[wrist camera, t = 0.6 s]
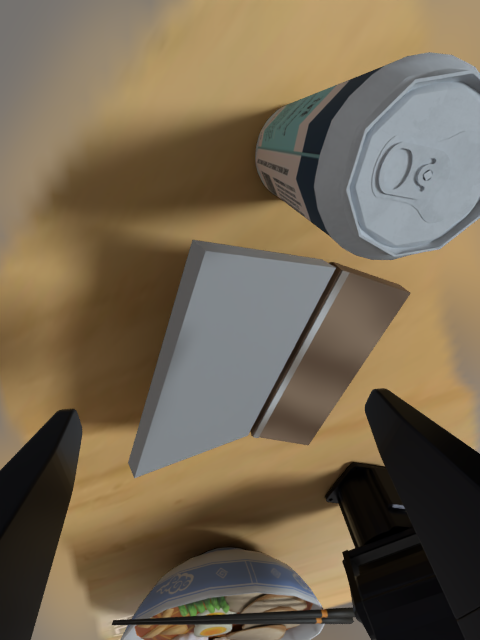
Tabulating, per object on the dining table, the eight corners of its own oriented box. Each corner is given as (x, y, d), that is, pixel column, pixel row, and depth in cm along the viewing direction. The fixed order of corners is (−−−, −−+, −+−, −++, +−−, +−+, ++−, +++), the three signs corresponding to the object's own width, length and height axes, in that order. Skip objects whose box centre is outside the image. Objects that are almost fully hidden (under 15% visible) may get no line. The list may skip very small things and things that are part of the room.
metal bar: (304, 432, 30) (308, 446, 28) (249, 423, 28) (251, 437, 27) (399, 284, 23) (411, 293, 21) (333, 262, 21) (341, 270, 20)
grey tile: (240, 424, 28) (247, 435, 27) (128, 462, 21) (134, 477, 20) (322, 259, 21) (336, 267, 20) (192, 239, 14) (205, 250, 13)
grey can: (322, 204, 19) (464, 282, 9) (246, 192, 18) (304, 260, 8) (348, 112, 17) (581, 71, 7) (263, 93, 16) (375, 10, 6)
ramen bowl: (115, 600, 43) (98, 689, 36) (134, 506, 33) (115, 606, 26) (282, 597, 49) (296, 674, 42) (344, 516, 38) (376, 600, 31)
